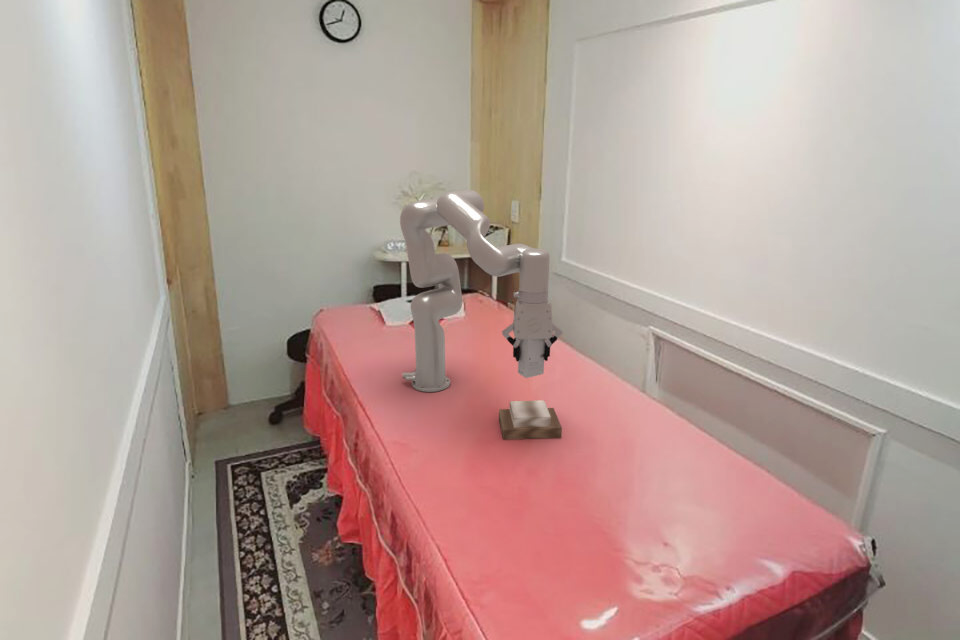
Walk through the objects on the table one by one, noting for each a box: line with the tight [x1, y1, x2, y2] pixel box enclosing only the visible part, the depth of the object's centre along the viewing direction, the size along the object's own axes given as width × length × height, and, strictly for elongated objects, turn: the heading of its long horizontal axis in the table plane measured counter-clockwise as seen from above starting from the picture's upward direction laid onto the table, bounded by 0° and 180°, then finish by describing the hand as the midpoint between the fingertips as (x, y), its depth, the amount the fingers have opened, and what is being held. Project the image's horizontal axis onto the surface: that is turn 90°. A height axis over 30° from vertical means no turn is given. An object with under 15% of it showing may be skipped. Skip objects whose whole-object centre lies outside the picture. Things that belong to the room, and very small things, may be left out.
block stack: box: [498, 399, 563, 440], centre depth 164 cm, size 16×12×6 cm
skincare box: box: [517, 336, 545, 379], centre depth 157 cm, size 6×4×12 cm
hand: (531, 358), depth 158 cm, fingers closed on skincare box, 7 cm apart
